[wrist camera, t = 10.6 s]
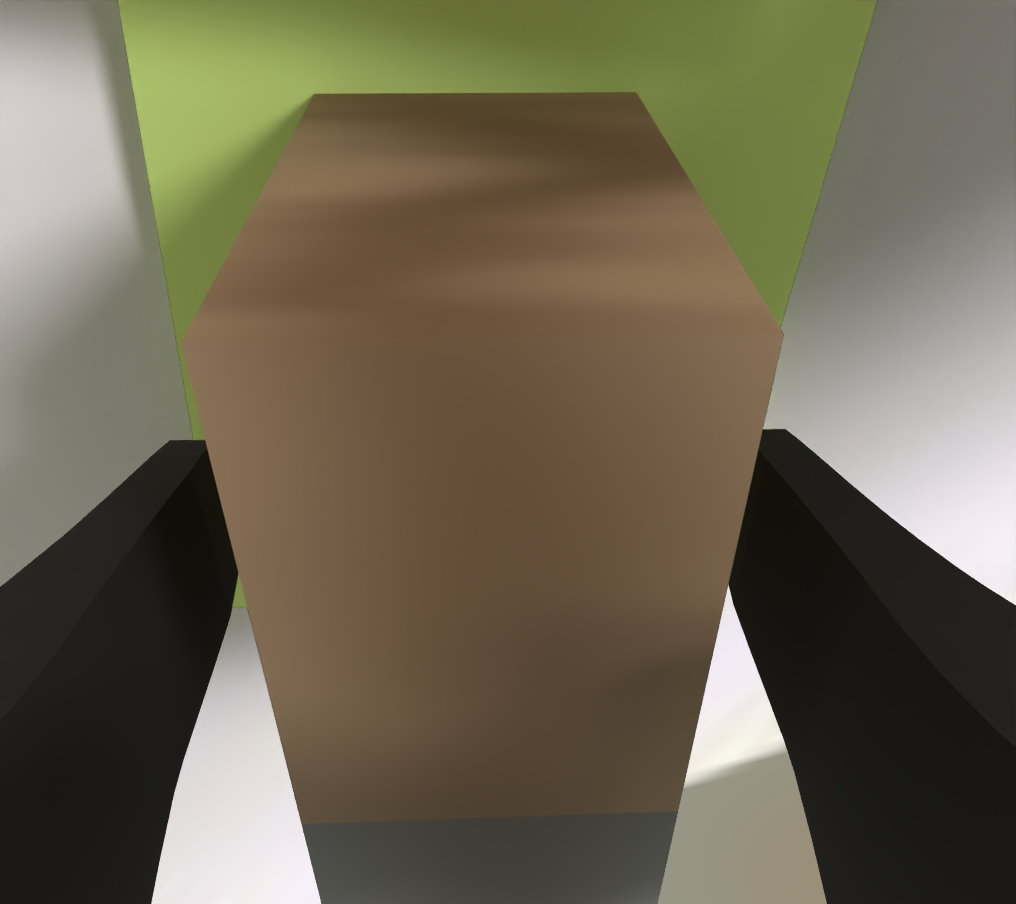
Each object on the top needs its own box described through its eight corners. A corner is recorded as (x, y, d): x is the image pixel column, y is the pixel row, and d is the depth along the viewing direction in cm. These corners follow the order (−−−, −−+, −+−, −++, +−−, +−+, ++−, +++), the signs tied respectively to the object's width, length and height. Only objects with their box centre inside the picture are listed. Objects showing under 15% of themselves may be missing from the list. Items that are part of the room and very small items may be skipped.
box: (636, 92, 12) (783, 334, 7) (594, 558, 17) (655, 912, 12) (314, 93, 12) (180, 342, 6) (371, 563, 17) (327, 924, 12)
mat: (861, -6, 12) (877, 2, 12) (688, 597, 19) (694, 618, 19) (122, -66, 11) (107, -62, 11) (228, 586, 18) (221, 607, 18)
